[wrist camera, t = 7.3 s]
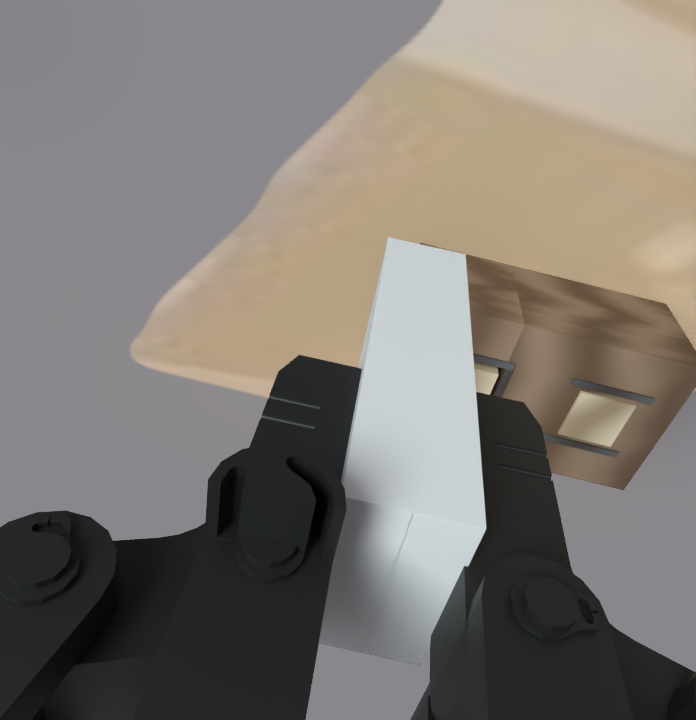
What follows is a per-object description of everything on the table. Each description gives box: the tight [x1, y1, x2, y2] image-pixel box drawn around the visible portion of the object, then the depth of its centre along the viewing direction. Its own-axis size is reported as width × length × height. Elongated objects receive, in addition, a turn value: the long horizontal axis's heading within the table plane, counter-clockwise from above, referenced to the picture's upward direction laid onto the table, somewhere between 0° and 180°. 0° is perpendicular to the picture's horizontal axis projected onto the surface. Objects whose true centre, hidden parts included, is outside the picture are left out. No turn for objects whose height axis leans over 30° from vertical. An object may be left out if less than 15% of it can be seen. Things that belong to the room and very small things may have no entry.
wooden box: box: [420, 243, 696, 490], centre depth 47 cm, size 20×12×9 cm, turn 78°
